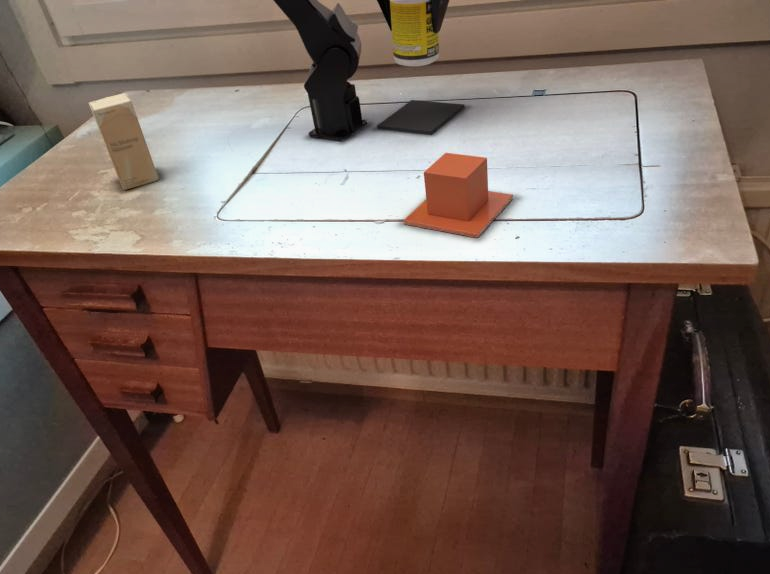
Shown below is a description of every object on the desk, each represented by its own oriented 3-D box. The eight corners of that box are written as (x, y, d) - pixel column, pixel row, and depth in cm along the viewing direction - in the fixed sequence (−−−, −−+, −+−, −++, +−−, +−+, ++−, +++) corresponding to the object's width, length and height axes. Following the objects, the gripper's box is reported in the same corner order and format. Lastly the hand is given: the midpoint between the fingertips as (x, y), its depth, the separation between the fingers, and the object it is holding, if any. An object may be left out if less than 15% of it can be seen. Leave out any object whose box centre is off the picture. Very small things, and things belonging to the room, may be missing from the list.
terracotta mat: (403, 224, 73) (403, 220, 72) (442, 187, 78) (442, 183, 78) (477, 238, 68) (477, 233, 68) (513, 198, 74) (513, 194, 73)
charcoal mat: (377, 128, 95) (376, 125, 94) (412, 103, 101) (411, 99, 100) (431, 134, 90) (431, 131, 90) (464, 107, 96) (464, 104, 96)
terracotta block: (427, 214, 73) (423, 172, 69) (448, 194, 76) (445, 152, 72) (468, 221, 70) (465, 178, 67) (488, 200, 73) (487, 157, 70)
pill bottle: (435, 67, 87) (432, -28, 79) (389, 68, 88) (382, -25, 81) (442, 52, 91) (440, -40, 84) (399, 52, 92) (393, -37, 85)
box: (124, 191, 90) (90, 110, 83) (119, 180, 93) (85, 102, 86) (161, 179, 91) (131, 99, 84) (155, 169, 94) (125, 90, 87)
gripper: (298, -94, 77) (323, 47, 87) (438, -105, 68) (447, 54, 78) (352, -111, 83) (369, 23, 93) (486, -123, 74) (489, 26, 84)
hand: (415, 31), depth 87 cm, fingers closed on pill bottle, 6 cm apart
